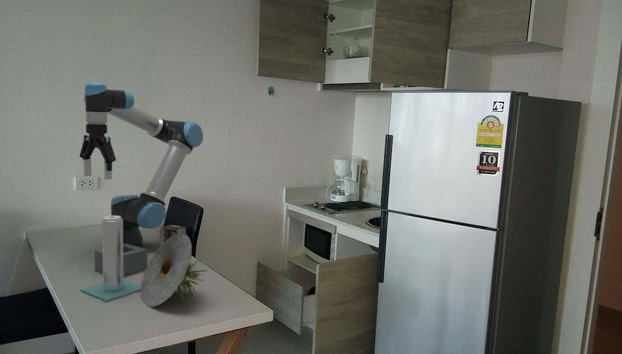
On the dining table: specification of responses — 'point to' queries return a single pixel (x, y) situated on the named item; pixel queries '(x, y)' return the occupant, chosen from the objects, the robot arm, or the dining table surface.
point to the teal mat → (108, 296)
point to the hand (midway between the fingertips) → (97, 177)
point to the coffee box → (171, 232)
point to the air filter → (112, 253)
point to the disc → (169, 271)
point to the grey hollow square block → (126, 259)
